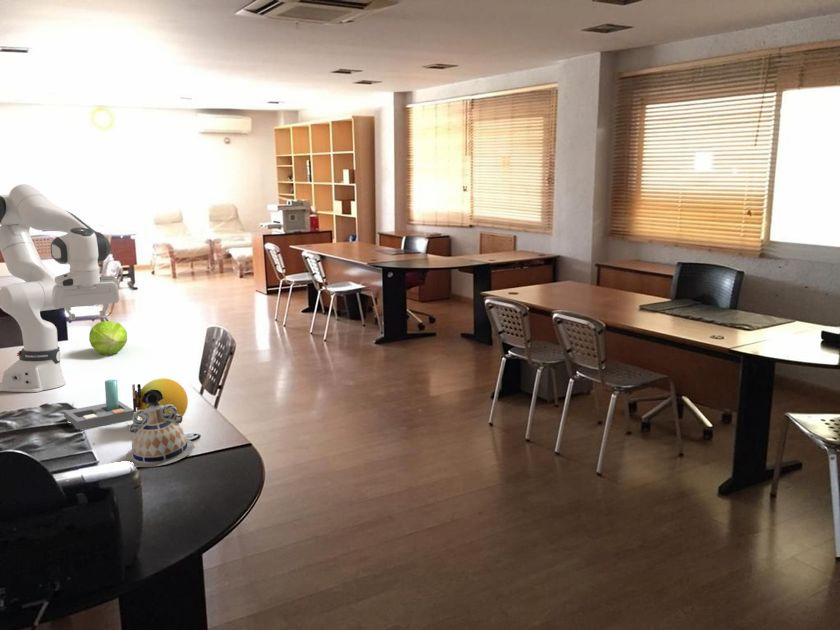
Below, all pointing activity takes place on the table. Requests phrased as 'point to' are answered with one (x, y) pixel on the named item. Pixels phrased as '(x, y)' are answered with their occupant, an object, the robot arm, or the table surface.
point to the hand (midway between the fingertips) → (87, 318)
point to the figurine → (157, 434)
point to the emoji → (169, 391)
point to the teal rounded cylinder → (111, 395)
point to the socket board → (98, 416)
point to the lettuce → (108, 337)
